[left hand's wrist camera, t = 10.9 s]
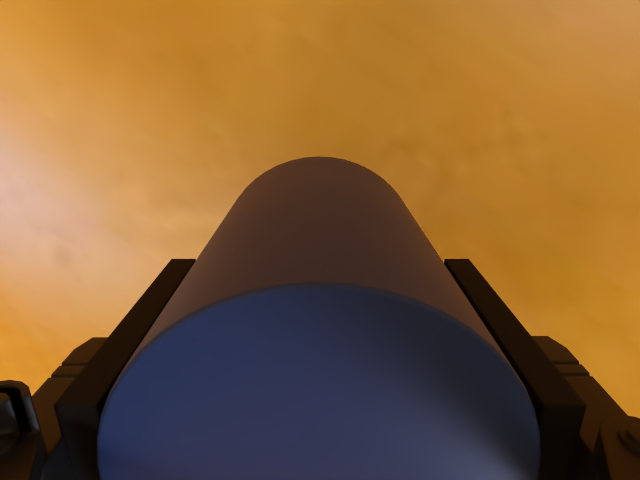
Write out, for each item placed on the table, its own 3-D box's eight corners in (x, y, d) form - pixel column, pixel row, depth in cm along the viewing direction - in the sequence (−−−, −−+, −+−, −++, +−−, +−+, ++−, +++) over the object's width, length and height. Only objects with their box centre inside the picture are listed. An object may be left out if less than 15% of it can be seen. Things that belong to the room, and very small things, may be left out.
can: (245, 344, 19) (164, 636, 9) (203, 172, 17) (23, 320, 7) (421, 322, 19) (536, 602, 9) (407, 142, 16) (552, 250, 6)
